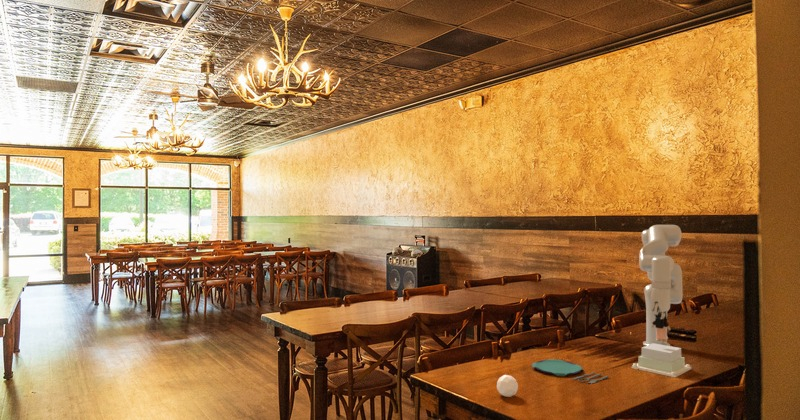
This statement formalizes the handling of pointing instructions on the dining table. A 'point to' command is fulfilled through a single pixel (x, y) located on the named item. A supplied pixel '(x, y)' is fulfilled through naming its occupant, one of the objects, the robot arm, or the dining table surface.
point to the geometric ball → (507, 386)
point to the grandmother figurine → (661, 331)
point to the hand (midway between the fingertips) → (661, 327)
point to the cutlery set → (563, 369)
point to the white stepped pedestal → (662, 360)
